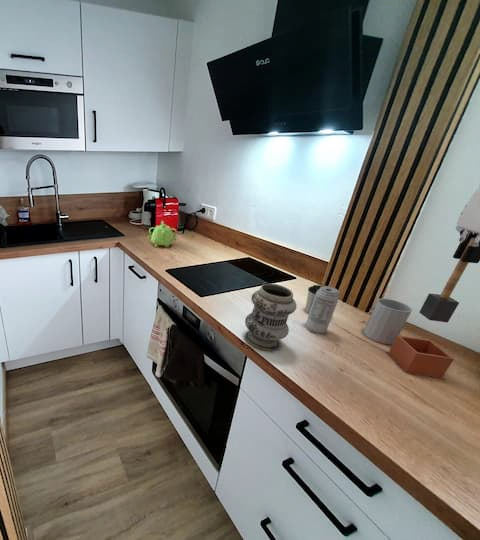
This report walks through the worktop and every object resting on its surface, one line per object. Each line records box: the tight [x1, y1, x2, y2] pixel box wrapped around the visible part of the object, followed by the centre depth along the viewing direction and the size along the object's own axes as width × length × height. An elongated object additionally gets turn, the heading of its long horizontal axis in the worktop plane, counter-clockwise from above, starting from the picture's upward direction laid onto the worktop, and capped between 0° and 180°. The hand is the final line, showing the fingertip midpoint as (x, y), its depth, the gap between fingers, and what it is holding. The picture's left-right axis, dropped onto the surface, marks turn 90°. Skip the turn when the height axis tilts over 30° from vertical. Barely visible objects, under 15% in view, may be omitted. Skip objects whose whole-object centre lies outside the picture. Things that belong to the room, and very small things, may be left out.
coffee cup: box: [304, 284, 322, 314], centre depth 104 cm, size 7×7×10 cm
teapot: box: [147, 220, 178, 248], centre depth 172 cm, size 16×14×13 cm
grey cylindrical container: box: [363, 297, 413, 345], centre depth 90 cm, size 8×8×12 cm
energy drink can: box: [305, 285, 340, 334], centre depth 93 cm, size 6×6×15 cm
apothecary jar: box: [244, 283, 297, 352], centre depth 85 cm, size 12×12×18 cm
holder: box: [387, 335, 455, 379], centre depth 79 cm, size 8×8×6 cm
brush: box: [419, 238, 475, 323], centre depth 72 cm, size 4×4×22 cm
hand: (465, 260), depth 69 cm, fingers closed on brush
